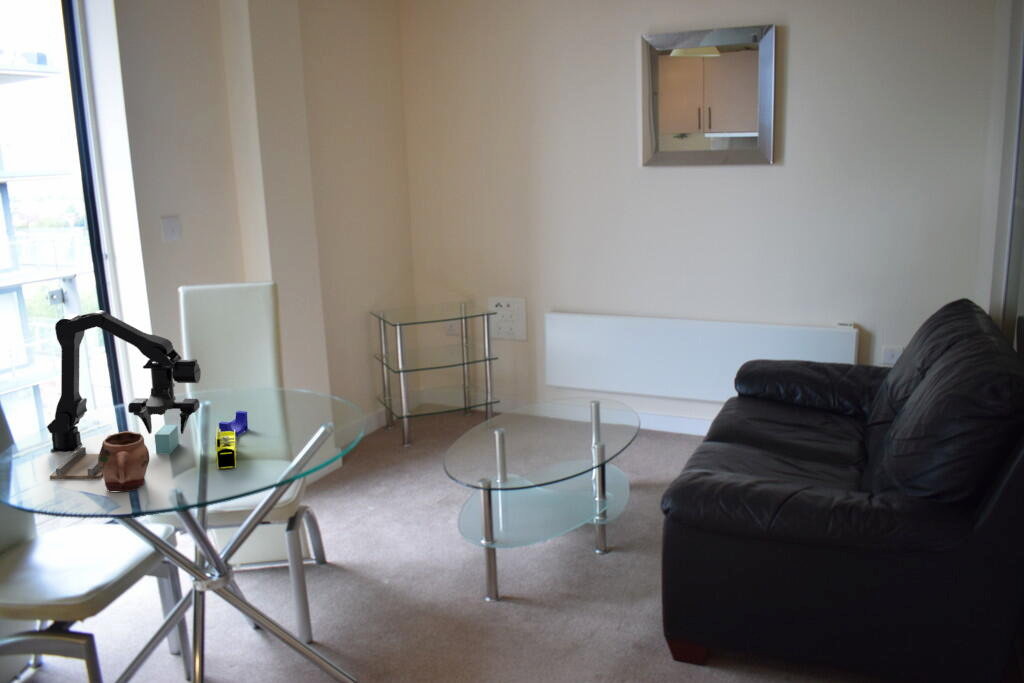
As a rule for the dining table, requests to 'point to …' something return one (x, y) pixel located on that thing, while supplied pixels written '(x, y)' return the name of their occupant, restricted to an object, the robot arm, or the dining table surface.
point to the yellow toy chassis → (225, 449)
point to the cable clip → (236, 424)
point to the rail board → (79, 467)
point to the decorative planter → (123, 461)
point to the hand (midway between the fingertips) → (166, 433)
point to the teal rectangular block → (166, 439)
